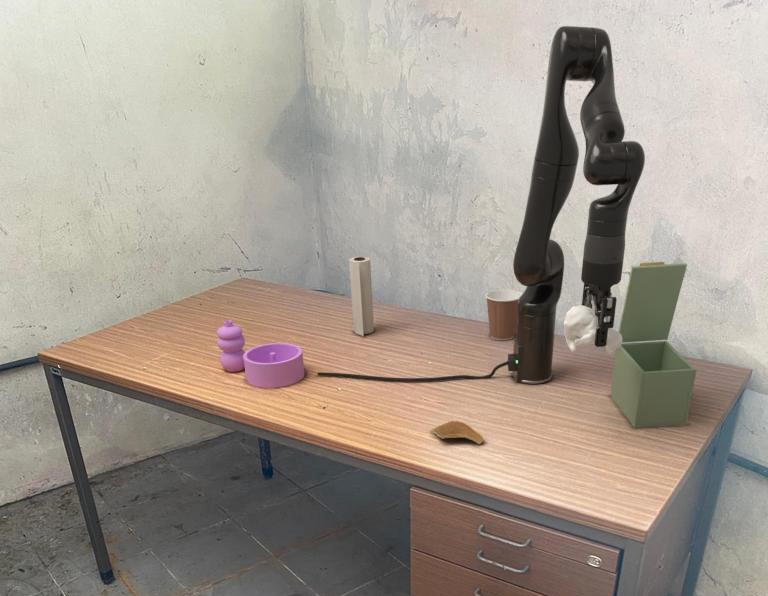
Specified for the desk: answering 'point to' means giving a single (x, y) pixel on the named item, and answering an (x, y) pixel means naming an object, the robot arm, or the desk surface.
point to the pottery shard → (457, 431)
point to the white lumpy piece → (586, 329)
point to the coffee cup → (502, 313)
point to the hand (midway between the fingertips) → (594, 339)
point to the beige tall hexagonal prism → (361, 295)
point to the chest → (652, 384)
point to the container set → (260, 359)
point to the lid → (651, 301)
